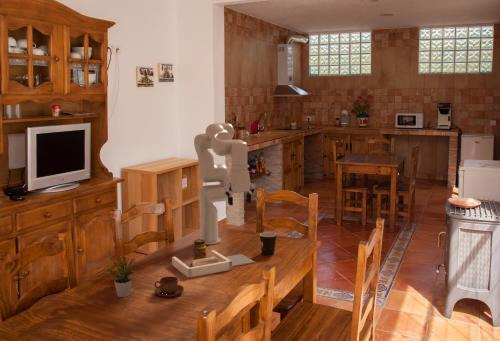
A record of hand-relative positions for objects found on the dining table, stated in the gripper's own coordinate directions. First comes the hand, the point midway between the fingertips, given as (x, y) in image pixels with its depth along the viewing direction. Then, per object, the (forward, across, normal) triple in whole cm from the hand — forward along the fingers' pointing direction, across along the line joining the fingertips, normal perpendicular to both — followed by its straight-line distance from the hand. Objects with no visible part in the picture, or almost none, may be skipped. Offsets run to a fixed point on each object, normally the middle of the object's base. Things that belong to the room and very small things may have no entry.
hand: (239, 203), depth 255 cm
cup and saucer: (+31, +43, +16) cm, 55 cm away
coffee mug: (+30, -22, -10) cm, 39 cm away
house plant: (+30, +59, +7) cm, 66 cm away
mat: (+30, -2, -6) cm, 31 cm away
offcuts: (+30, +17, -2) cm, 35 cm away
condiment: (+30, +17, -10) cm, 36 cm away
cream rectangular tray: (+30, +17, -6) cm, 35 cm away
